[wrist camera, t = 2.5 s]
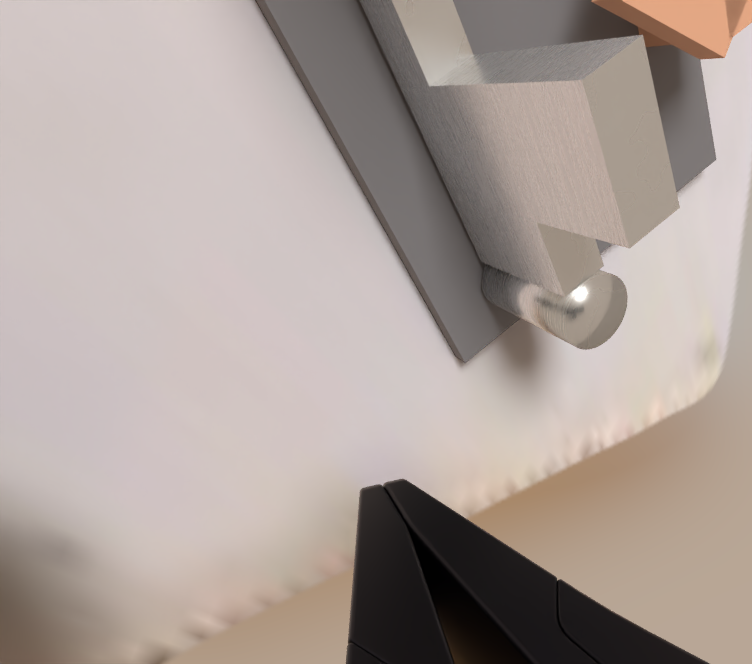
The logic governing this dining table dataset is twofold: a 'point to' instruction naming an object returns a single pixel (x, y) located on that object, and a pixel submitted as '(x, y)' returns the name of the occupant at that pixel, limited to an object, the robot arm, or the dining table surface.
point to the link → (537, 158)
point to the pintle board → (411, 154)
